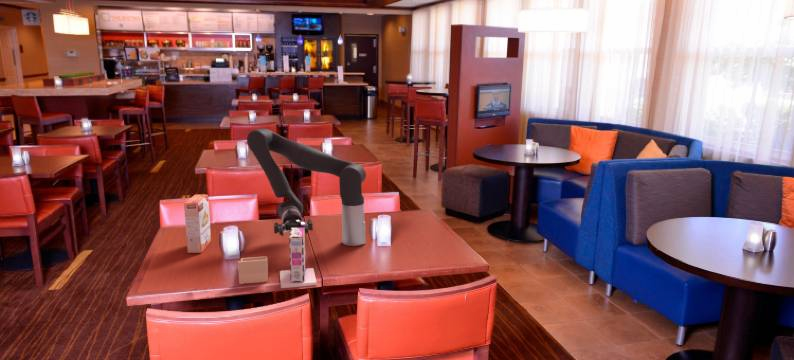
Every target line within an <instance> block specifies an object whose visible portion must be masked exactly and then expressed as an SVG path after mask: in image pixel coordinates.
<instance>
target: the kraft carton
mask: <svg viewBox="0 0 794 360" xmlns="http://www.w3.org/2000/svg"><path fill="white" fill-rule="evenodd" d="M237 269H238V283H239V284H238V285H242V284H243V285H244V284H245V283H246V284H257V283H265V282H266V283H268V282H269V260H268V256H266V255H265V256H254V257H253V256H252V257H250V256H249V257H241V258H240V261H237Z"/></svg>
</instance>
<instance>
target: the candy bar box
mask: <svg viewBox="0 0 794 360" xmlns="http://www.w3.org/2000/svg"><path fill="white" fill-rule="evenodd" d="M305 237H306V234H305V228H304V227H299V228H291V232H289V238H288V241H289V267H290V268H289V270H290V276H291V282H304V280H305V270H306V269H307V268H306V238H305Z"/></svg>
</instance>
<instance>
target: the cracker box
mask: <svg viewBox="0 0 794 360" xmlns="http://www.w3.org/2000/svg"><path fill="white" fill-rule="evenodd" d="M209 203H210V201H209V194H194V195H193V196H191V197H190V198H189V199H187V200H186V201H185V202H184V203H183V210H184V221H185V222H184V223H185V235H186V236H185V237H186V248H187V254H202V253H203V252H204V251H205V249H207V247H208V246H209V245H210V244H211V242H212V237H211V220H210V219H211V217H210V207H209V206H210V204H209Z"/></svg>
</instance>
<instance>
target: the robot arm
mask: <svg viewBox="0 0 794 360" xmlns="http://www.w3.org/2000/svg"><path fill="white" fill-rule="evenodd" d="M246 144H247V145H248V148H249V149H250V152H251V153H252V154H253V156H254V157H255V158H256V160H257V163H259V166H260V167H261V169H262V170H263V172H264V174H265V176H266V178H267V180H268V183H269V184H270V186H271V190H272V192H273V194H274V195H275V198H277V199H279V198H280V199H281V198H289V199H288V200H287V201H284V202H282V203H280V204H279V205H278V206H277V211H276V212H277V214H278V216H279V217H280V218H281V222H282V223H281V224H280V223H278V222H274V224H273V233H274V234H279V236H281V237H283V236H284V233H288V232H289V233H290V232H291V228H299V227H304V228H305V235H308V233H309V232H310V231H313V230H314V228H313V222H312V220H311V219H307V220H306V221H303V218H302V214H301V213H303V211H304V205H303V203H302V201H300V200H299V198H298V197H297V196H296V194H295V193H294V192H293V190H292V188H291V186H290V183H289V181H288V180H287V177H286V175H285V173H284V172H283V171H282V169H281V168H280V166H279V165H278V164H277V163H276V161H275V160H274V158H273V157H272V155H271V152H273V153H275V154H278V155H281V156H283V157H285V158H286V159H287V160H288V161H290V162H291V163H293V164H294V165H296V166H298V167H300V168H303V169H304V170H307V171H310V172H311V171H312V172H315V173H316V172H317V173H323V174H329V175H332V176H335V177H338V179H339V181H338V182H339V196H340V199H341V229H342V230H341V232H342V233H341V234H342V237H341V238H342V239H341V240H342V244H343V245H345V246H349V247H357V246H362V245H365V244H366V220H365V197H364V195H363V192H362V190H363V189H362V187H363V186H362V184H363V183H364V181H365V180H366V177H367V172H366V169H364V167H363V166H362V165H360V164H358V163H355V162H351V161H347V160H343V159H340V158H338V157H336V156H333V155H331V154H328V153H326V152H324V151H321V150H318V149H317V148H314V147H311V146H309V145H306V144H303V143H301V142H298V141H295V140H291V139H288V138H286V137H284V136H281V135H280V134H278V133H276V132H274V131H272V130H270V129H267V128H258V129H254V130H251V131H250V132H249V133H248V134H247V136H246Z"/></svg>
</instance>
